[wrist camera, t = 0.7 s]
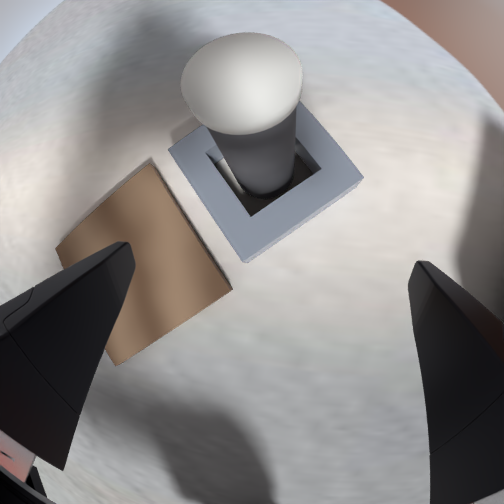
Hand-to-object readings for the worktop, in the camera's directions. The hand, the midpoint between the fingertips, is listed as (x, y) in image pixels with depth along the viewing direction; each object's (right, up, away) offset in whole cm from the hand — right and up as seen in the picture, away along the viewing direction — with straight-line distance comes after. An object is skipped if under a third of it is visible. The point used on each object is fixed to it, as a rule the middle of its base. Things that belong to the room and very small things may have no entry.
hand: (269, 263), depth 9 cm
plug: (0, +6, +14) cm, 15 cm away
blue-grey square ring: (0, +6, +14) cm, 15 cm away
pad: (-10, -1, +14) cm, 18 cm away
